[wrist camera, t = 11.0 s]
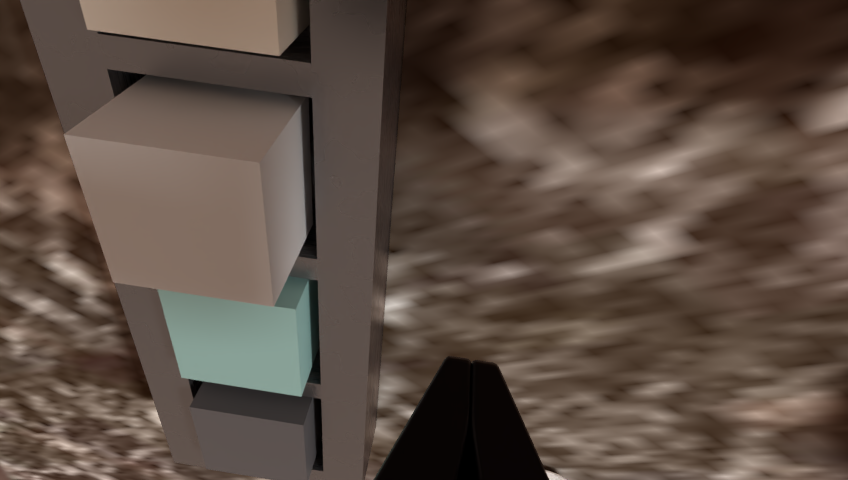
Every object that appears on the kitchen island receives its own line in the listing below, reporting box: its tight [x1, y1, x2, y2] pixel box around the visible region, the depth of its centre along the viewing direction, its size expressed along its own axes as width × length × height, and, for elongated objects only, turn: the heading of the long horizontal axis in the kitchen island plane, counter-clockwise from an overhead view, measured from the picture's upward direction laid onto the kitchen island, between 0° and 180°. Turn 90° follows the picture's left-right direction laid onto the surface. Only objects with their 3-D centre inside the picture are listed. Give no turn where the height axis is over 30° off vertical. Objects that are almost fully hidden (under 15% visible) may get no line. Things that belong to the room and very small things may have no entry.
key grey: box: [63, 75, 313, 307], centre depth 17 cm, size 5×5×4 cm
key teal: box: [158, 276, 320, 397], centre depth 23 cm, size 5×5×4 cm
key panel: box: [20, 0, 407, 480], centre depth 21 cm, size 10×30×4 cm, turn 174°
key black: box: [190, 381, 322, 480], centre depth 27 cm, size 5×5×4 cm
